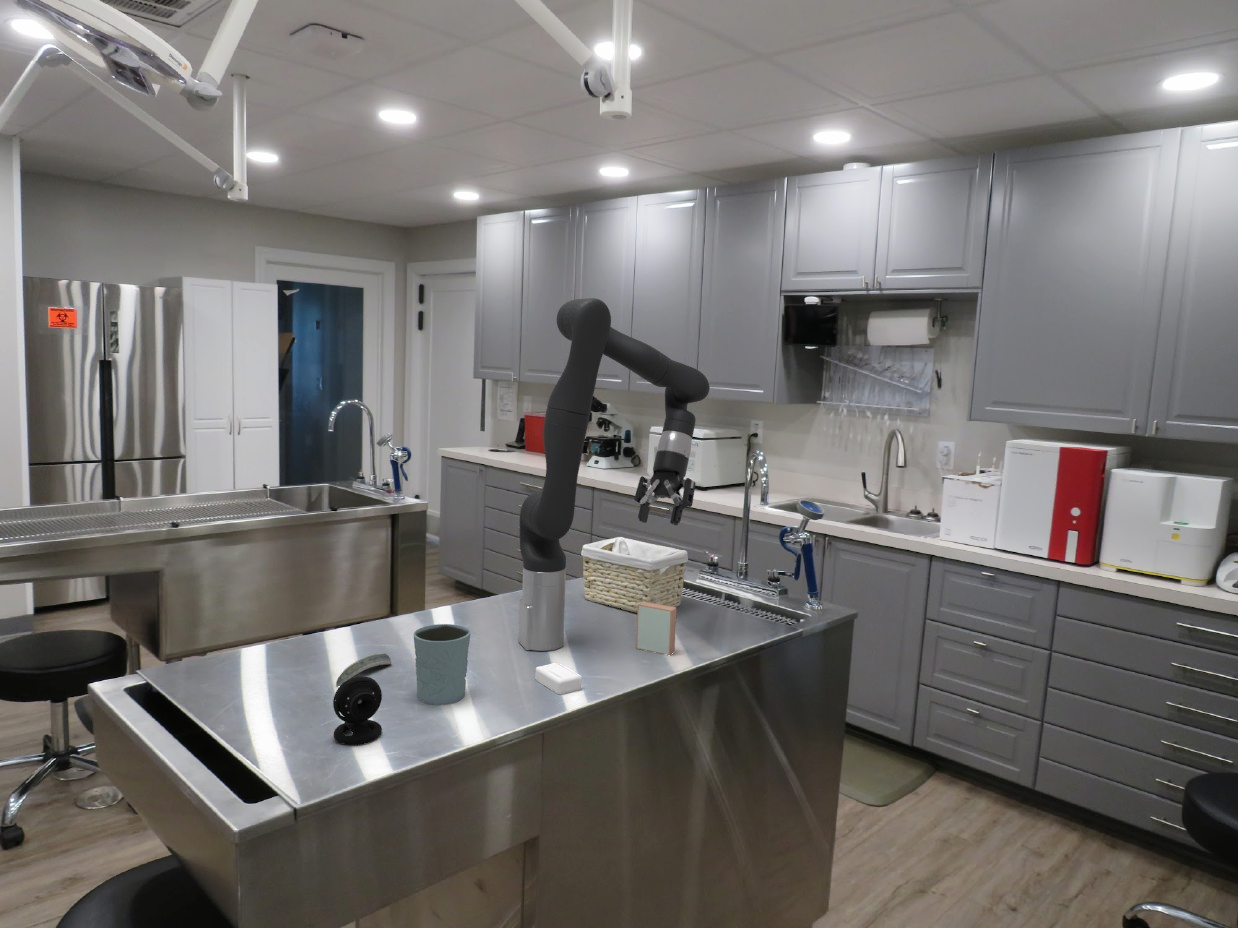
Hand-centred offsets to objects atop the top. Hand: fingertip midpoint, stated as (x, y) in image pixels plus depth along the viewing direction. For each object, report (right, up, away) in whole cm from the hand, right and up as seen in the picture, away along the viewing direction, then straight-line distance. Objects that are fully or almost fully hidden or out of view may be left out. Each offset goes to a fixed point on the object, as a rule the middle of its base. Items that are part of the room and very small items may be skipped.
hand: (658, 523), depth 184 cm
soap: (-20, -30, -25) cm, 44 cm away
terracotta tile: (-1, -27, -4) cm, 28 cm away
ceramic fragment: (-58, -28, -23) cm, 69 cm away
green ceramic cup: (-41, -30, -32) cm, 60 cm away
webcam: (-51, -31, -49) cm, 77 cm away
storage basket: (-5, -23, +30) cm, 38 cm away
